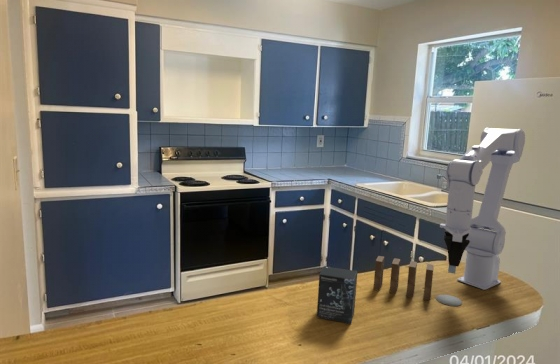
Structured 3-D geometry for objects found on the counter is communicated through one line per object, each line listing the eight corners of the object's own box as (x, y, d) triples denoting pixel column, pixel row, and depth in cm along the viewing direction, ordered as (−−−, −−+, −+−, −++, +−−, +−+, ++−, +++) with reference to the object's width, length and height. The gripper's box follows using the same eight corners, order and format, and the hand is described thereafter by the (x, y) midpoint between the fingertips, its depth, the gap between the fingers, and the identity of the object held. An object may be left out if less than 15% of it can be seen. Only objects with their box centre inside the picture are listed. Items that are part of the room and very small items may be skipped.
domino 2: (397, 287, 109) (400, 259, 107) (395, 293, 105) (398, 264, 103) (391, 286, 109) (394, 258, 108) (389, 292, 105) (391, 263, 104)
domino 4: (430, 293, 105) (433, 264, 104) (430, 300, 101) (432, 270, 100) (424, 292, 106) (427, 263, 105) (423, 299, 102) (426, 269, 101)
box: (316, 318, 90) (318, 273, 89) (321, 307, 96) (323, 265, 94) (351, 325, 88) (354, 279, 86) (354, 313, 93) (357, 270, 92)
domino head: (455, 267, 102) (458, 237, 101) (455, 273, 98) (458, 242, 97) (448, 266, 103) (451, 236, 102) (448, 272, 99) (451, 241, 98)
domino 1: (382, 284, 110) (384, 256, 109) (379, 290, 106) (381, 261, 105) (376, 283, 111) (378, 255, 110) (373, 289, 107) (375, 260, 106)
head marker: (461, 298, 103) (461, 297, 103) (462, 308, 98) (462, 307, 98) (436, 293, 106) (436, 292, 106) (435, 302, 100) (435, 302, 100)
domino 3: (414, 290, 107) (417, 262, 106) (412, 297, 103) (415, 267, 102) (408, 289, 108) (410, 261, 106) (406, 295, 104) (408, 266, 102)
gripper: (442, 201, 106) (437, 251, 108) (441, 212, 93) (435, 268, 95) (472, 204, 103) (466, 255, 105) (474, 216, 90) (468, 274, 92)
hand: (453, 262), depth 100 cm, fingers closed on domino head, 4 cm apart
